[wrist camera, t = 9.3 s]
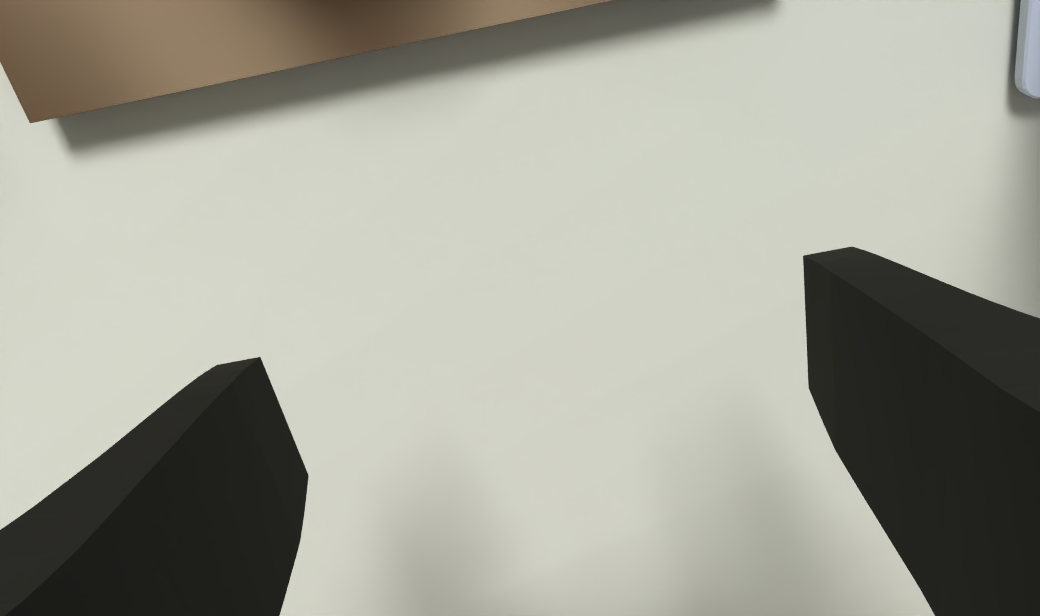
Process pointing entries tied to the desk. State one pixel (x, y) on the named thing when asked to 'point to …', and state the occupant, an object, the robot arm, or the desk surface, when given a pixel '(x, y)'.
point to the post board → (209, 41)
